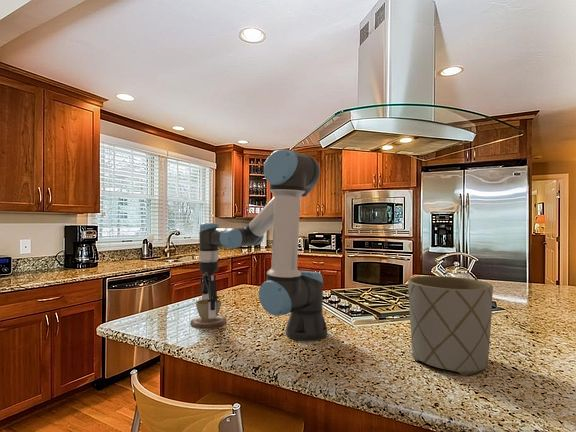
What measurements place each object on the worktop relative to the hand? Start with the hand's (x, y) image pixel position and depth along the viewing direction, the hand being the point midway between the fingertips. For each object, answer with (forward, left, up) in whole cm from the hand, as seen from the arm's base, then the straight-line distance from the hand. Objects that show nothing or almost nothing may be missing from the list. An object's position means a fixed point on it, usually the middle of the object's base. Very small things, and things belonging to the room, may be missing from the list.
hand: (208, 313), depth 139 cm
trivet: (0, 0, -4) cm, 4 cm away
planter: (-66, -58, -4) cm, 88 cm away
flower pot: (0, 0, -2) cm, 2 cm away
